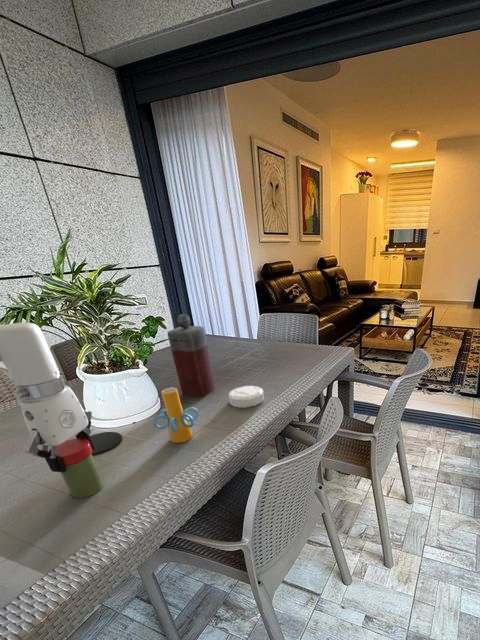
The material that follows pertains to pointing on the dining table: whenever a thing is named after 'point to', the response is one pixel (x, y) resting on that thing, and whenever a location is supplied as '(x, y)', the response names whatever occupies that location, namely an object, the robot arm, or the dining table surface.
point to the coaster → (105, 441)
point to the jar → (83, 478)
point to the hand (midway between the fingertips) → (74, 459)
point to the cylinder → (176, 417)
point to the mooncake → (246, 396)
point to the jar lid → (74, 450)
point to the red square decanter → (191, 358)
